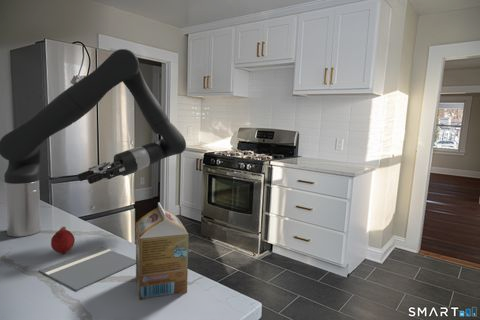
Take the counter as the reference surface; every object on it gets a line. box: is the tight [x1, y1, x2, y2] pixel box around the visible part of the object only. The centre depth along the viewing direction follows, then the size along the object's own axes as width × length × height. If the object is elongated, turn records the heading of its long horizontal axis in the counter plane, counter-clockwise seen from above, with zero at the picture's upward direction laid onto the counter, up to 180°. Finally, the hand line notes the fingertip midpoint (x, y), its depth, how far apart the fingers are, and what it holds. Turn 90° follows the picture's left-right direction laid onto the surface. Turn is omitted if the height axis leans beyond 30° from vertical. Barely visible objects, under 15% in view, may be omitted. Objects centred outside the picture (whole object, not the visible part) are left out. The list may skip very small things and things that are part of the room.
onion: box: [50, 226, 76, 255], centre depth 89 cm, size 6×6×8 cm
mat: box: [38, 246, 136, 292], centre depth 83 cm, size 16×18×1 cm
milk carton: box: [135, 201, 190, 301], centre depth 74 cm, size 11×11×19 cm
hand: (82, 179), depth 93 cm, fingers open, 8 cm apart
